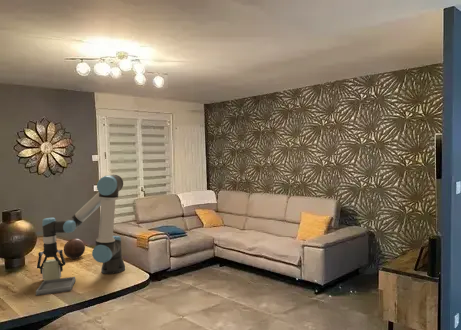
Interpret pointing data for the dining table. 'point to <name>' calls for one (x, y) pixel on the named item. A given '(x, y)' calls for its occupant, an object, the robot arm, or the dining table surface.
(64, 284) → the tray
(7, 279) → the dining table surface
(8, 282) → the dining table surface
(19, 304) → the dining table surface
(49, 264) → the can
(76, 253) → the wooden sphere
